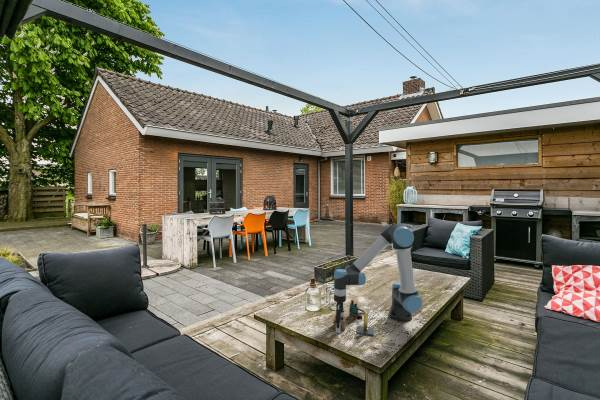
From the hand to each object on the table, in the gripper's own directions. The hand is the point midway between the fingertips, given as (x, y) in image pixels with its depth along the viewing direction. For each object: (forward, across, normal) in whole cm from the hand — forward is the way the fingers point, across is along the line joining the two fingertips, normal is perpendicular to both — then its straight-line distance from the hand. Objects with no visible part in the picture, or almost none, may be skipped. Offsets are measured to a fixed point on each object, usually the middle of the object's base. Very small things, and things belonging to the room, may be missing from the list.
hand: (339, 327), depth 192 cm
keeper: (0, 0, +16) cm, 16 cm away
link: (0, 0, 0) cm, 0 cm away
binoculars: (0, -19, +9) cm, 21 cm away
